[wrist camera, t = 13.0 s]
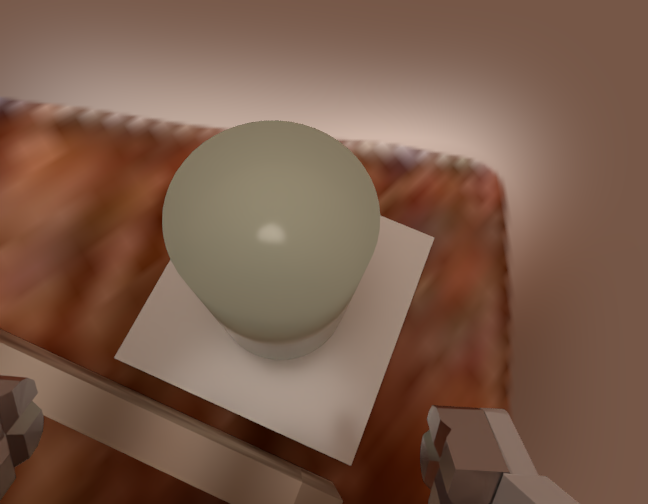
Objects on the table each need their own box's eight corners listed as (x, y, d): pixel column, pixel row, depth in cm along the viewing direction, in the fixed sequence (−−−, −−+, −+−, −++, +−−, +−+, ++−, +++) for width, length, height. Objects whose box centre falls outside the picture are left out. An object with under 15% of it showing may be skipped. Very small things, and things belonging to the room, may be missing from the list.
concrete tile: (121, 360, 23) (114, 357, 22) (232, 163, 26) (230, 154, 26) (348, 463, 22) (351, 466, 21) (429, 244, 26) (434, 237, 25)
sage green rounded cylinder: (193, 327, 22) (119, 264, 13) (252, 216, 24) (224, 92, 15) (315, 381, 22) (331, 357, 12) (364, 263, 24) (409, 166, 14)
